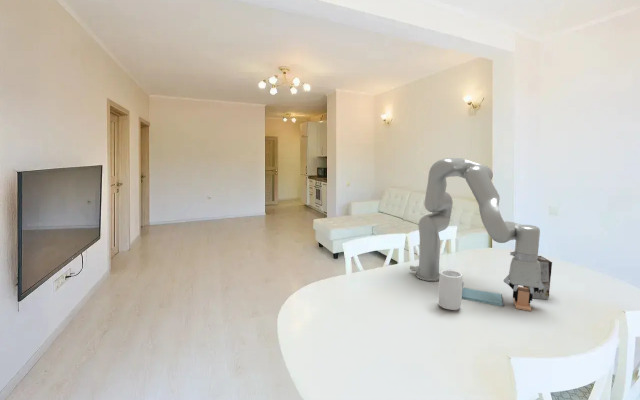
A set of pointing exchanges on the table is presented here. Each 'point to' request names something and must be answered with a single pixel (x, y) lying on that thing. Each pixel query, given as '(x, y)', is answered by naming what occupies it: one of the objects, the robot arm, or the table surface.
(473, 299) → the gray-edged light blue slab
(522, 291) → the tan stepped block
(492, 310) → the table surface
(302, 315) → the table surface
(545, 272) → the coffee box
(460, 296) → the cup
